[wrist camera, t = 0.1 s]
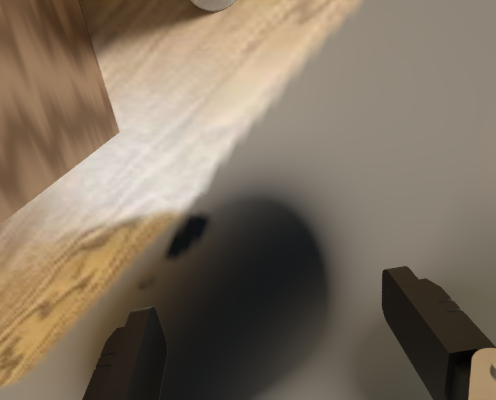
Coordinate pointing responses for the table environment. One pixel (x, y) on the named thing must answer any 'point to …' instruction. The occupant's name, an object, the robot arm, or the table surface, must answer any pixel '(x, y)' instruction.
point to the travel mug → (213, 4)
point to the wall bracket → (47, 98)
